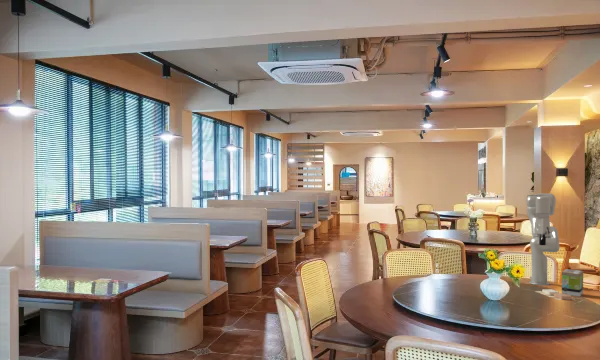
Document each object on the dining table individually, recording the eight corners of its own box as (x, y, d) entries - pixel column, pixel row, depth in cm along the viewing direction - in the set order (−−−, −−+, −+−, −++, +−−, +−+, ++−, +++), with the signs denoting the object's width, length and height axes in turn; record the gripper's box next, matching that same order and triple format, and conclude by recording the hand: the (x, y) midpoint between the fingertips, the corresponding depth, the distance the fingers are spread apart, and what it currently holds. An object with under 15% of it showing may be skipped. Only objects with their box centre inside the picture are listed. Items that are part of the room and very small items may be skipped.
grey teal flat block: (542, 289, 278) (549, 291, 271) (551, 289, 279) (559, 291, 272) (542, 292, 278) (549, 295, 271) (551, 292, 278) (559, 295, 271)
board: (534, 293, 282) (534, 291, 282) (551, 293, 283) (551, 291, 283) (557, 301, 260) (557, 299, 260) (575, 301, 261) (575, 299, 261)
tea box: (580, 298, 268) (580, 273, 269) (561, 296, 274) (561, 271, 275) (583, 294, 280) (583, 270, 281) (564, 292, 286) (564, 268, 287)
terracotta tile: (553, 293, 267) (561, 296, 260) (563, 293, 268) (571, 296, 261) (553, 296, 267) (561, 299, 260) (563, 296, 268) (571, 299, 261)
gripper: (529, 215, 296) (529, 243, 295) (544, 216, 281) (544, 246, 280) (540, 215, 296) (540, 243, 296) (555, 216, 281) (555, 246, 281)
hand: (542, 245), depth 288 cm, fingers closed
